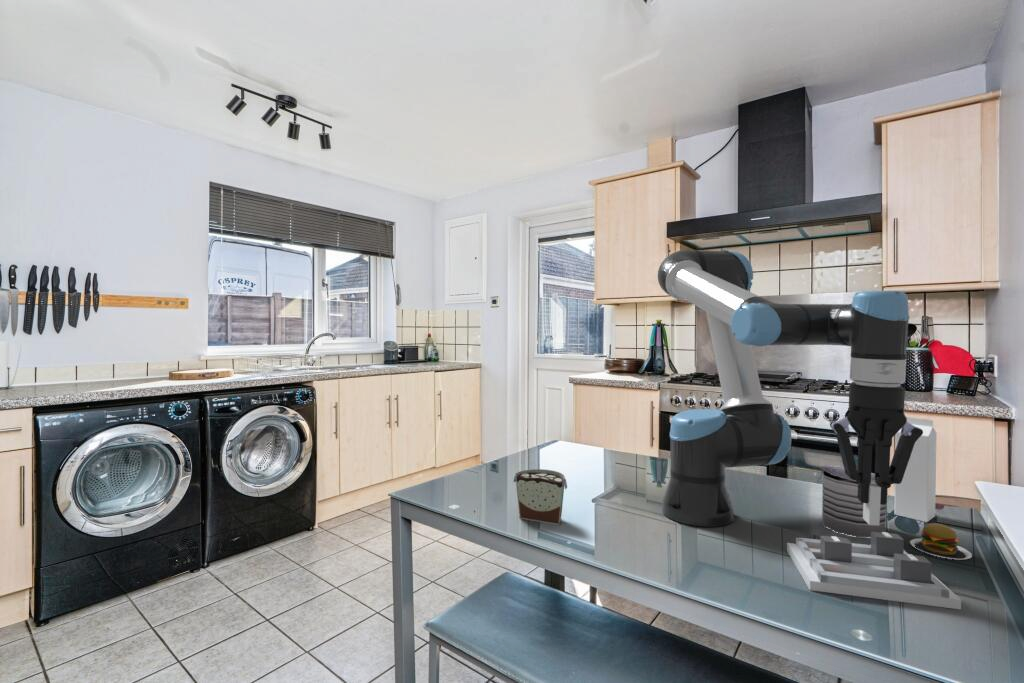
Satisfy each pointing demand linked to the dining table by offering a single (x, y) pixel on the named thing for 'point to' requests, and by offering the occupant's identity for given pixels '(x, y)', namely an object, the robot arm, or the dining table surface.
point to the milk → (918, 476)
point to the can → (846, 505)
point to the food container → (540, 495)
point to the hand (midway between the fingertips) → (870, 521)
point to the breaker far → (886, 544)
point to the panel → (865, 576)
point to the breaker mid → (835, 549)
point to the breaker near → (912, 568)
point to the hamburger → (940, 541)
